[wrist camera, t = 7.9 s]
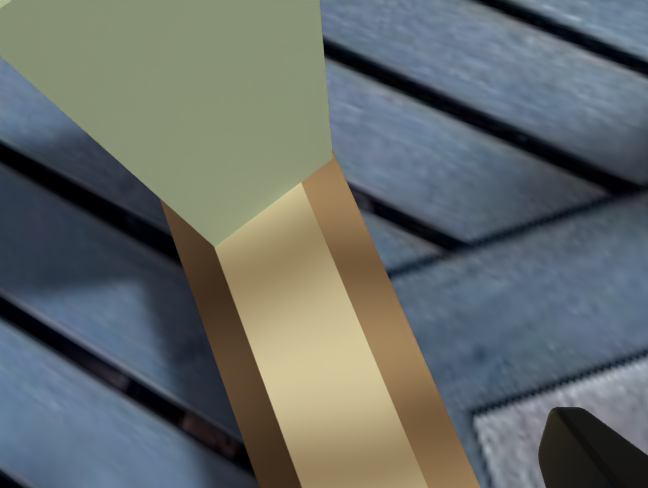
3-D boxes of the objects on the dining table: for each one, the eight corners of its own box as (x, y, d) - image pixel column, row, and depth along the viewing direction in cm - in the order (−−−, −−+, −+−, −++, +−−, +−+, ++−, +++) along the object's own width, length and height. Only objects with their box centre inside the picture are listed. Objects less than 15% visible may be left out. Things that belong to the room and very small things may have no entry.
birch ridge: (476, 488, 19) (503, 513, 16) (293, 566, 19) (281, 609, 16) (293, 68, 23) (283, 17, 20) (140, 128, 23) (104, 86, 20)
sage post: (332, 158, 19) (302, -194, 7) (214, 246, 18) (-31, 28, 6) (247, 57, 20) (95, -398, 8) (133, 138, 19) (-206, -220, 7)
